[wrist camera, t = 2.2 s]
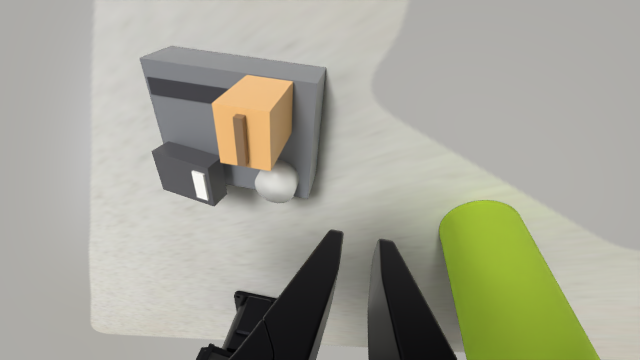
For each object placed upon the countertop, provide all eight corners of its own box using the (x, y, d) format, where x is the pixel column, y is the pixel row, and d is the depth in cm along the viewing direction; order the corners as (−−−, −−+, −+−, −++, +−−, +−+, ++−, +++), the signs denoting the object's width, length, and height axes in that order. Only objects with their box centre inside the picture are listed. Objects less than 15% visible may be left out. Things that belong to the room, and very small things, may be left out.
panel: (315, 173, 22) (304, 210, 19) (193, 153, 23) (161, 184, 20) (325, 67, 17) (312, 91, 14) (170, 46, 18) (124, 63, 15)
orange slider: (291, 132, 17) (268, 176, 13) (250, 126, 17) (216, 167, 14) (292, 81, 15) (266, 116, 12) (246, 74, 15) (207, 106, 12)
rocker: (227, 193, 20) (212, 207, 18) (178, 178, 20) (161, 190, 19) (221, 156, 18) (205, 169, 17) (168, 141, 19) (149, 152, 17)
